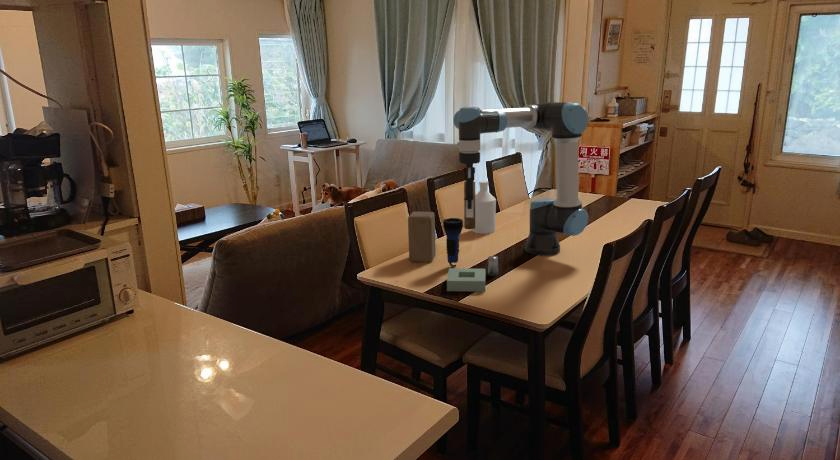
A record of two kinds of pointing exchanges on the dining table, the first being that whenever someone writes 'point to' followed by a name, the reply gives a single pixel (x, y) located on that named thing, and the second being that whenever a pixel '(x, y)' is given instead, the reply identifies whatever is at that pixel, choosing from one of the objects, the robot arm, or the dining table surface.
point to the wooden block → (421, 236)
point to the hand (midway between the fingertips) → (469, 215)
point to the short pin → (493, 265)
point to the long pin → (470, 222)
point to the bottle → (484, 210)
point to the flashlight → (452, 238)
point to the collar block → (466, 280)
